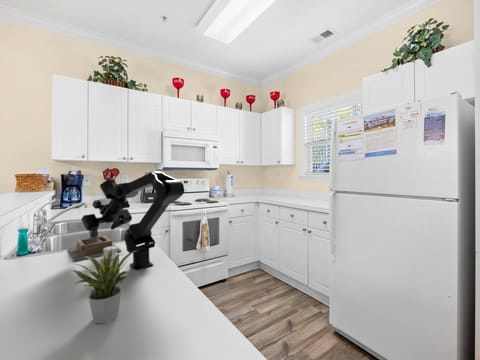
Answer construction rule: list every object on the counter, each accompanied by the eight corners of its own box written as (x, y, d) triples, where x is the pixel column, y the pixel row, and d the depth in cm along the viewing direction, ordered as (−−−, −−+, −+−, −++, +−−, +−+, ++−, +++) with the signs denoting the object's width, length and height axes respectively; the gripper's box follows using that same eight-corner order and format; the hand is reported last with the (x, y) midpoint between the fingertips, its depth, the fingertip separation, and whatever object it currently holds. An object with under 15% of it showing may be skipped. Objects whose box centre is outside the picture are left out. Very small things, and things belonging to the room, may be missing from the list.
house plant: (125, 293, 70) (124, 238, 70) (151, 311, 61) (150, 247, 61) (67, 316, 59) (65, 251, 59) (88, 342, 50) (86, 265, 50)
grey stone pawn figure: (92, 252, 103) (91, 224, 103) (83, 250, 106) (82, 223, 105) (105, 248, 108) (104, 222, 108) (96, 246, 111) (96, 220, 111)
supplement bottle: (117, 278, 80) (117, 249, 80) (99, 280, 79) (99, 251, 78) (120, 271, 86) (120, 244, 85) (103, 273, 84) (103, 246, 84)
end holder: (121, 251, 106) (121, 241, 106) (74, 261, 95) (74, 249, 95) (110, 242, 120) (109, 233, 119) (68, 250, 108) (68, 239, 108)
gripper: (127, 191, 109) (113, 213, 115) (82, 194, 93) (69, 220, 99) (139, 209, 105) (124, 232, 111) (94, 217, 89) (80, 242, 95)
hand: (101, 231), depth 104 cm, fingers open, 9 cm apart
